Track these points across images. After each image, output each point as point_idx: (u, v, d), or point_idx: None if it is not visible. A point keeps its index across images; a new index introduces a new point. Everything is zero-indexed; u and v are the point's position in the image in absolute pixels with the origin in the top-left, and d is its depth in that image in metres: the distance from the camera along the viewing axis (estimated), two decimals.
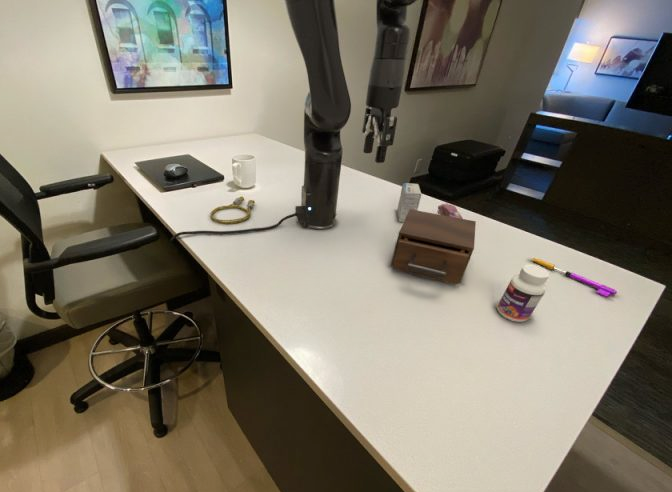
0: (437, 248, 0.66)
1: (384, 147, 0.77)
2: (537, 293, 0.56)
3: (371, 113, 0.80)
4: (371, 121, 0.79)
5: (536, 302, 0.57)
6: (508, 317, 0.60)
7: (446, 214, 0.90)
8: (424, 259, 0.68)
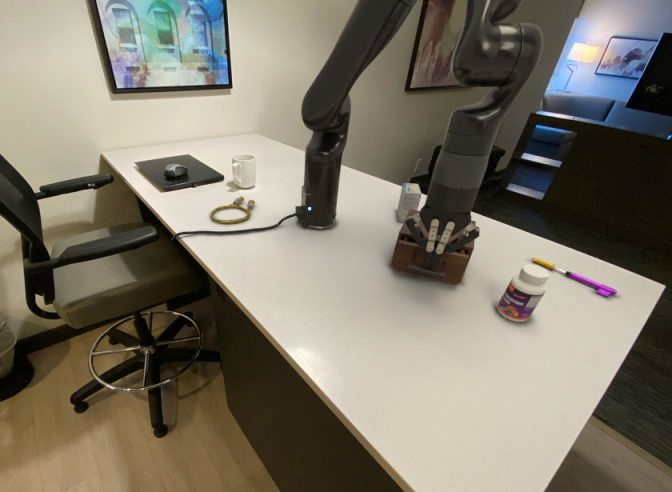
0: None
1: None
2: (537, 293, 0.56)
3: (427, 215, 0.58)
4: (438, 224, 0.58)
5: (536, 302, 0.57)
6: (508, 317, 0.60)
7: None
8: None
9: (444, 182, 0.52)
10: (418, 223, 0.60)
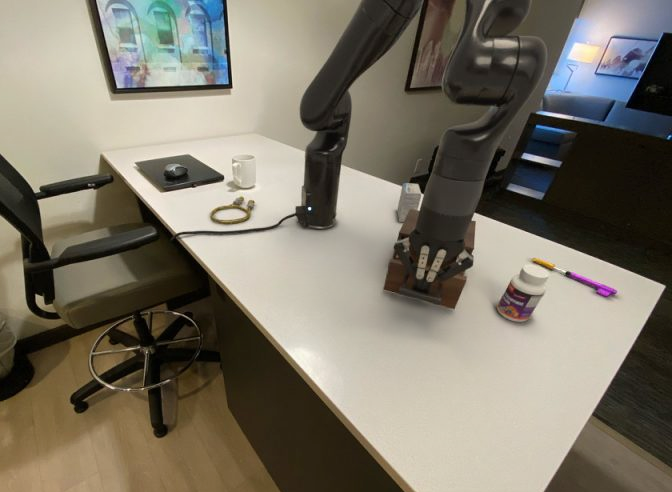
0: None
1: None
2: (537, 293, 0.56)
3: (417, 241, 0.53)
4: (428, 251, 0.53)
5: (536, 302, 0.57)
6: (508, 317, 0.60)
7: None
8: None
9: (434, 208, 0.47)
10: (407, 248, 0.55)
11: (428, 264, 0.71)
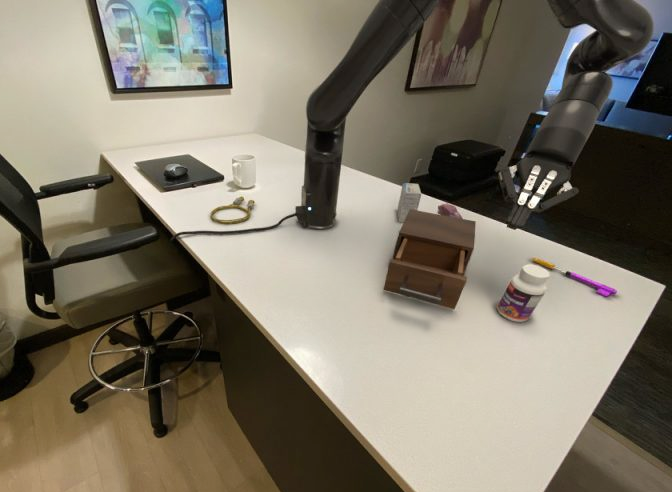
0: (432, 270, 0.60)
1: (531, 211, 0.58)
2: (537, 293, 0.56)
3: (527, 164, 0.58)
4: None
5: (536, 302, 0.57)
6: (508, 317, 0.60)
7: (446, 214, 0.90)
8: (417, 281, 0.61)
9: (559, 123, 0.55)
10: (513, 174, 0.59)
11: (428, 264, 0.71)
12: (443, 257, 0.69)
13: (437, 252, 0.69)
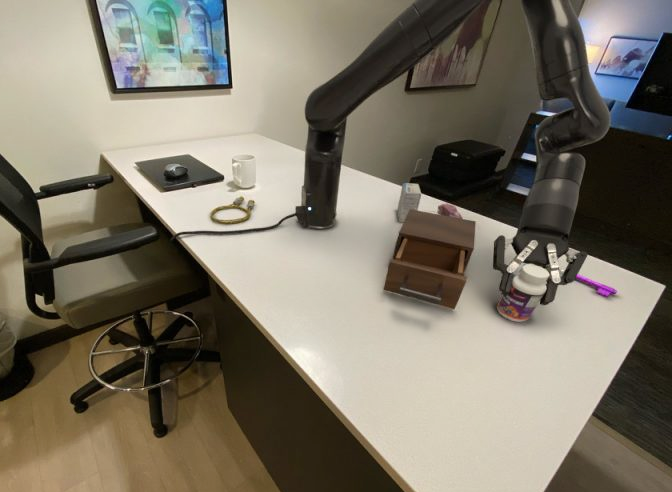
0: (432, 270, 0.60)
1: None
2: (537, 293, 0.56)
3: (523, 239, 0.59)
4: (534, 248, 0.58)
5: (536, 302, 0.57)
6: (508, 317, 0.60)
7: (446, 214, 0.90)
8: (417, 281, 0.61)
9: (545, 200, 0.57)
10: (507, 245, 0.60)
11: (428, 264, 0.71)
12: (443, 257, 0.69)
13: (437, 252, 0.69)
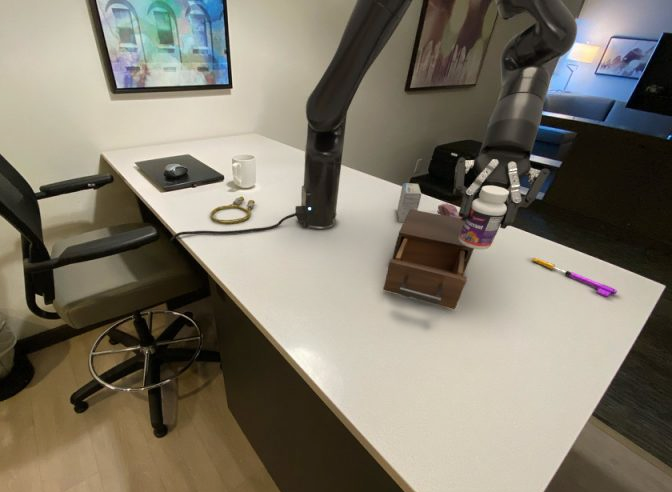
0: (432, 270, 0.60)
1: (517, 207, 0.54)
2: (496, 213, 0.53)
3: (484, 160, 0.55)
4: (494, 168, 0.54)
5: (496, 225, 0.54)
6: (468, 245, 0.57)
7: (446, 214, 0.90)
8: (417, 281, 0.61)
9: (507, 116, 0.53)
10: (468, 168, 0.57)
11: (428, 264, 0.71)
12: (443, 257, 0.69)
13: (437, 252, 0.69)
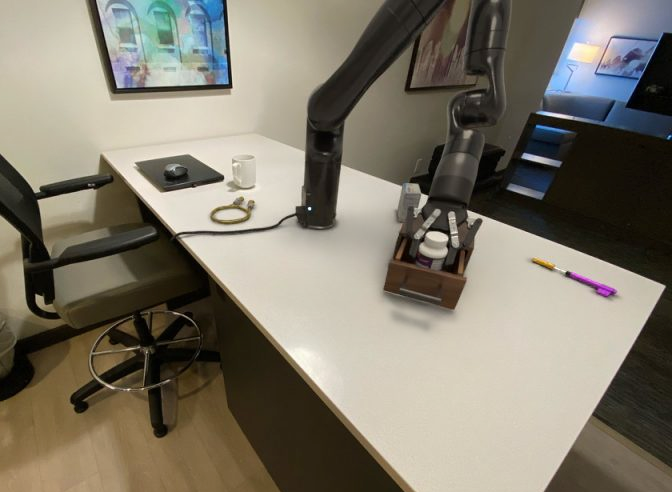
0: (432, 270, 0.59)
1: (457, 250, 0.62)
2: (437, 256, 0.61)
3: (429, 209, 0.64)
4: (437, 216, 0.63)
5: (439, 265, 0.62)
6: None
7: None
8: (417, 282, 0.61)
9: (446, 172, 0.62)
10: (416, 215, 0.65)
11: None
12: None
13: None
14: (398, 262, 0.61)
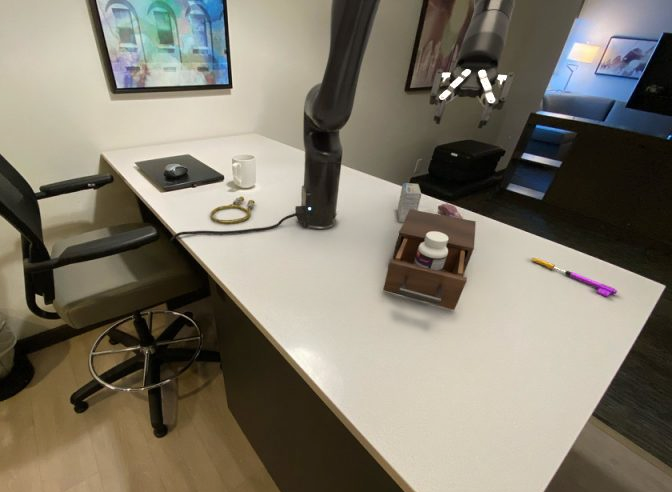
0: (432, 270, 0.59)
1: (492, 108, 0.61)
2: (437, 256, 0.61)
3: (458, 72, 0.63)
4: (466, 77, 0.62)
5: (439, 265, 0.63)
6: None
7: (446, 214, 0.90)
8: (417, 282, 0.61)
9: (477, 31, 0.61)
10: (444, 79, 0.65)
11: None
12: None
13: None
14: (398, 262, 0.62)
